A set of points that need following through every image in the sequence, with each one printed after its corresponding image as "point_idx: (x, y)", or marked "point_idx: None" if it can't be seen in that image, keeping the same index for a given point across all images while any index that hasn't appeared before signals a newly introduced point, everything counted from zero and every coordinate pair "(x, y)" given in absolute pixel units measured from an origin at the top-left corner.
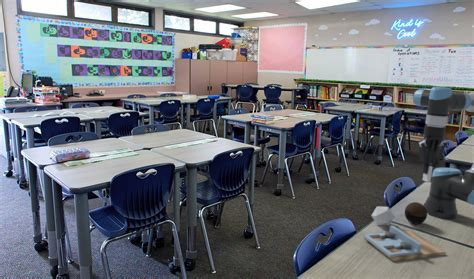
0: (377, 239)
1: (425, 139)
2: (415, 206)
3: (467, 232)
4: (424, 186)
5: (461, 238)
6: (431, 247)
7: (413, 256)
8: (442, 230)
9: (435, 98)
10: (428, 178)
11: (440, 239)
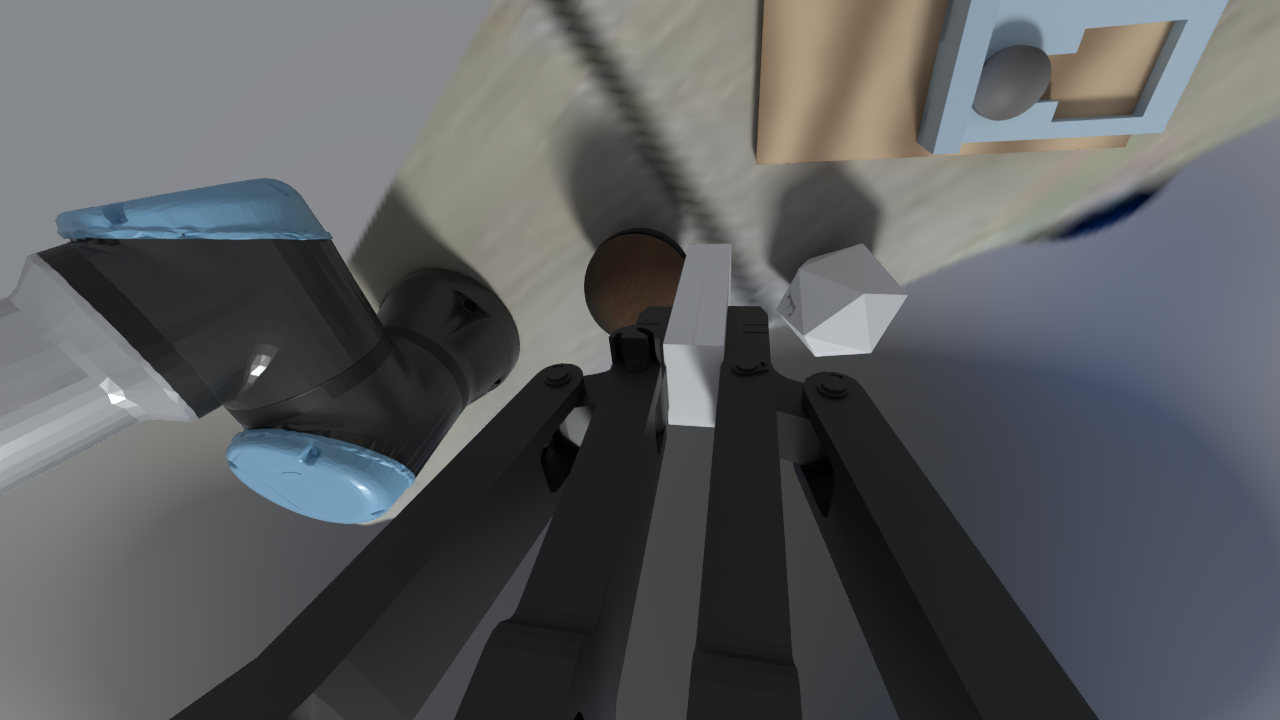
0: (1090, 82)
1: None
2: (656, 293)
3: (436, 123)
4: (391, 509)
5: (510, 57)
6: None
7: None
8: (555, 165)
9: None
10: (721, 261)
11: (641, 62)
